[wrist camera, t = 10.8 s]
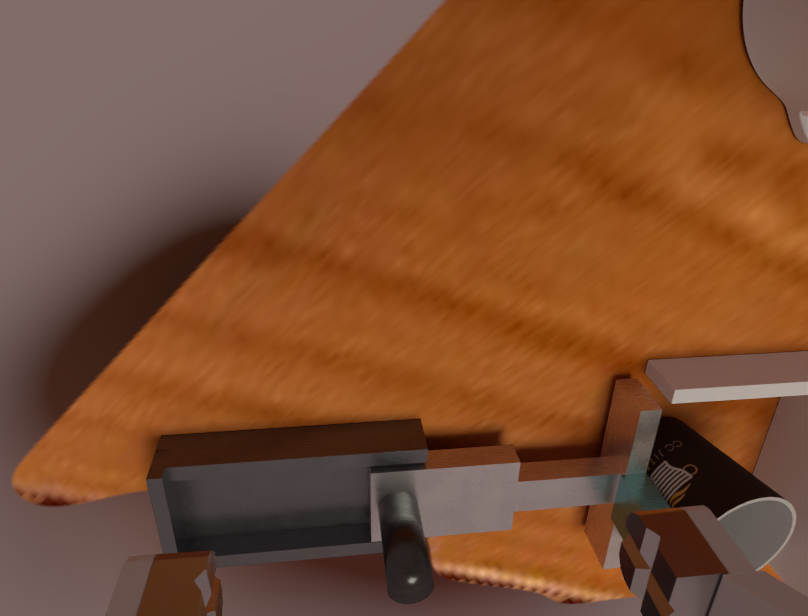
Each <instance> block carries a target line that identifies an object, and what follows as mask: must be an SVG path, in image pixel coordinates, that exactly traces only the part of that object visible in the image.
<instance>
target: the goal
mask: <svg viewBox="0 0 808 616" xmlns="http://www.w3.org/2000/svg"><path fill="white" fill-rule="evenodd" d="M645 374H646V375H647V376H648V377H649V378H650V380H651V381H652V382H653V383H654V384H655V385H656V386H657V388H658V389H659V390H660V391H661V392H662V393H663V395H664V396H665V397H666V398H667V399H668V400H669V401H670V403H671V404H676V403H691V402H707V401H722V400H737V399H752V398H768V397H780V400H779V403H778V406H777V408H776V411H775V414H774V417H773V419H772V422H771V425H770V428H769V430H768V433H767V436H766V438H765V441H764V444H763V447H762V449H761V452H760V455H759V458H758V460H757V463H756V466H755V469H754V471H753V474H752V475H754V476H755V477H756V478H758V479H759V480H760V481H762V482H763V483H764V484H766V485H767V486H768V487H770V488H771V489H772V490H774V491H775V492H776V493H778V494H779V495H780V496H782V497H783V498H784V499H786V500H787V501H788V502H790V503H791V504H792V505H793V507H794V509H795V511H796V525H795V528H794V530H793V533H792V535H791V537H790V539H789V540H788V542H787V543H786V545H785V546H784V547H783V549H782V550H781V551H780V552H779V553H778V554H777V555H776V556H775V557H774V558H773V559H772V560H771V561H770V562H769V564H770V566H771V567H772V568H773V570H774V571H775V572H776V573H777V575H778V576H779V577H780V578H781V580H782V581H783V582H784V583H785V584H786V585H788V586H790V587H791V588H793V589H795V590H796V591H798V592H800V593H801V594H803V595H804V596H806V597H808V351H799V352H781V353H763V354H745V355H727V356H710V357H692V358H674V359H656V360H648V362H647V367H646V371H645Z"/></svg>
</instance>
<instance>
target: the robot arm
mask: <svg viewBox="0 0 808 616" xmlns="http://www.w3.org/2000/svg"><path fill="white" fill-rule="evenodd" d="M743 30H744V38H745V44H746V48H747V51H748V55H749V57H750V60H751V62H752V65H753V67H754V69H755V71H756V72H757V74H758V76H759V77H760V78H761V80H762V81H763V82H764V84H765V85H766V86H767V87H768V88H769V89H770V90H771V91H772V92H773V93H774V94H775V95H776V96H778V97H779V98H780V100H781V101H782V102H783V103H784V105H785V106H786V109H787V113H788V116H789V120H790V123H791V127H792V129H793V132H794V134H795V136H796V138H797V139H798V140H799V141H801V142H803V143H808V0H744V2H743ZM625 526H626V528H627V530H628V532H629V535H628V536H627V537H626V538H625V539H624V540H623V541H622V542H621V546H620V551H619V559H620V568H621V571H622V574H623V577H624V580H625V582H626V584H627V586H628V588H629V590H630V591H631V592H632V593H634V594H635V595H636V596H638V597H639V598H641V599H642V605H641V610H640V612H641V613H642V615H643V616H808V597H806V596H804V595H803V594H801V593H800V592H798V591H796V590H795V589H793V588H791V587H790V586H788V585H786V584H785V583H783V582H781V581H780V580H778V579H776V578H775V577H773V576H771V575H770V574H768V573H767V572H765V571H756V570H755V569H754V567H753V566H752V565H751V563H750V562H749V561H748V559H747V558H746V557H745V555H744V554H743V553H742V551H741V550H740V549H739V547H738V546H737V545H736V544H735V542H734V541H733V540H732V538H731V537H730V536H729V534H728V533H727V532H726V530H725V529H724V528H723V526H722V525H721V524H720V522H719V521H718V520H717V518H716V517H715V516H714V514H713V513H712V512H711V510H710V509H709V508H707V507H706V506H704V505H700V506H690V507H680V508H666V509H656V510H646V511H637V512H631V513H630V514H629V516H628V517H627V521H626V525H625ZM216 566H217V562H216V558H215V553H214V551H197V552H182V553H166V554H155V555H141V556H129V557H128V559H127V560H126V561H125V563H124V564H123V566H122V570H121V572H120V575H119V578H118V581H117V584H116V587H115V589H114V592H113V595H112V598H111V601H110V604H109V606H108V609H107V612H106V615H105V616H222V605H223V598H222V587H221V582H220V579H218V578H217V577H215V571H216Z"/></svg>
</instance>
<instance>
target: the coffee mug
mask: <svg viewBox="0 0 808 616" xmlns="http://www.w3.org/2000/svg"><path fill="white" fill-rule="evenodd" d="M646 473H647V475H648V476H649V478H650V479H651V480H652V482H653V483H654V485H655V486H656V488H657V489H658V491H659V492H660V494H661V495H662V496H663V498H664V499H665V501H666V502H667V504H668V505H669V507H670V508H680V507H690V506H700V505H704V506H706V507H707V508H709V509H710V510H711V512H712V513H713V514H714V516H715V517H716V518H717V520H718V521H719V522H720V524H721V525H722V526H723V528H724V529H725V530H726V532H727V533H728V534H729V536H730V537H731V538H732V540H733V541H734V542H735V544H736V545H737V546H738V547H739V549H740V550H741V551H742V553H743V554H744V555H745V557H746V558H747V559H748V561H749V562H750V563H751V565H752V566H753V567H754V569H755V570H756V571H758V570H760V569H761V568H763V567H764V566H765V565H766V564H768V563H769V562H770V561H771V560H772V559H773V558H774V557H775V556H776V555H777V554H778V553H779V552H780V551H781V550H782V549H783V547H784V546H785V545H786V543H787V542H788V540H789V539H790V537H791V535H792V533H793V530H794V528H795V525H796V511H795V509H794V507H793V505H792V504H791V503H790V502H788V501H787V500H786V499H784V498H783V497H782V496H780V495H779V494H778V493H776V492H775V491H774V490H772V489H771V488H770V487H768V486H767V485H766V484H764V483H763V482H762V481H760V480H759V479H758V478H756V477H755V476H754V475H752V474H751V473H750V472H748V471H747V470H746V469H744V468H743V467H742V466H740V465H739V464H738V463H736V462H735V461H734V460H732V459H731V458H730V457H728V456H727V455H726V454H724V453H723V452H722V451H720V450H719V449H718V448H716V447H715V446H714V445H712V444H711V443H710V442H708V441H707V440H706V439H704V438H703V437H702V436H700V435H699V434H698V433H696V432H695V431H694V430H692V429H691V428H690V427H688V426H687V425H686V424H684V423H683V422H682V421H680V420H678V419H675V418H661V419H660V421H659V425H658V429H657V433H656V437H655V440H654V444H653V448H652V452H651V456H650V460H649V463H648V467H647V471H646Z"/></svg>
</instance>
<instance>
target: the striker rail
mask: <svg viewBox="0 0 808 616" xmlns="http://www.w3.org/2000/svg"><path fill="white" fill-rule="evenodd" d="M427 457H428V448H427V444H426V440H425V435H424V431H423V427H422V423H421V419H412V420H396V421H381V422H366V423H350V424H335V425H320V426H304V427H289V428H274V429H259V430H243V431H228V432H213V433H197V434H182V435H167V436H161V438H160V441H159V444H158V447H157V449H156V452H155V455H154V458H153V461H152V464H151V467H150V469H149V472H148V475H147V478H146V482H147V486H148V491H149V495H150V499H151V504H152V507H153V512H154V516H155V521H156V525H157V529H158V534H159V538H160V542H161V546H162V551H163V554H166V553H182V552H197V551H214V553H215V558H216V562H217V566H216V568H219V567H229V566H240V565H251V564H262V563H273V562H284V561H295V560H306V559H317V558H327V557H338V556H350V555H361V554H372V553H382V552H383V548H382V541H376V542H371V533H370V523H369V467H370V466H384V465H397V464H411V463H424V462H427Z"/></svg>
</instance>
